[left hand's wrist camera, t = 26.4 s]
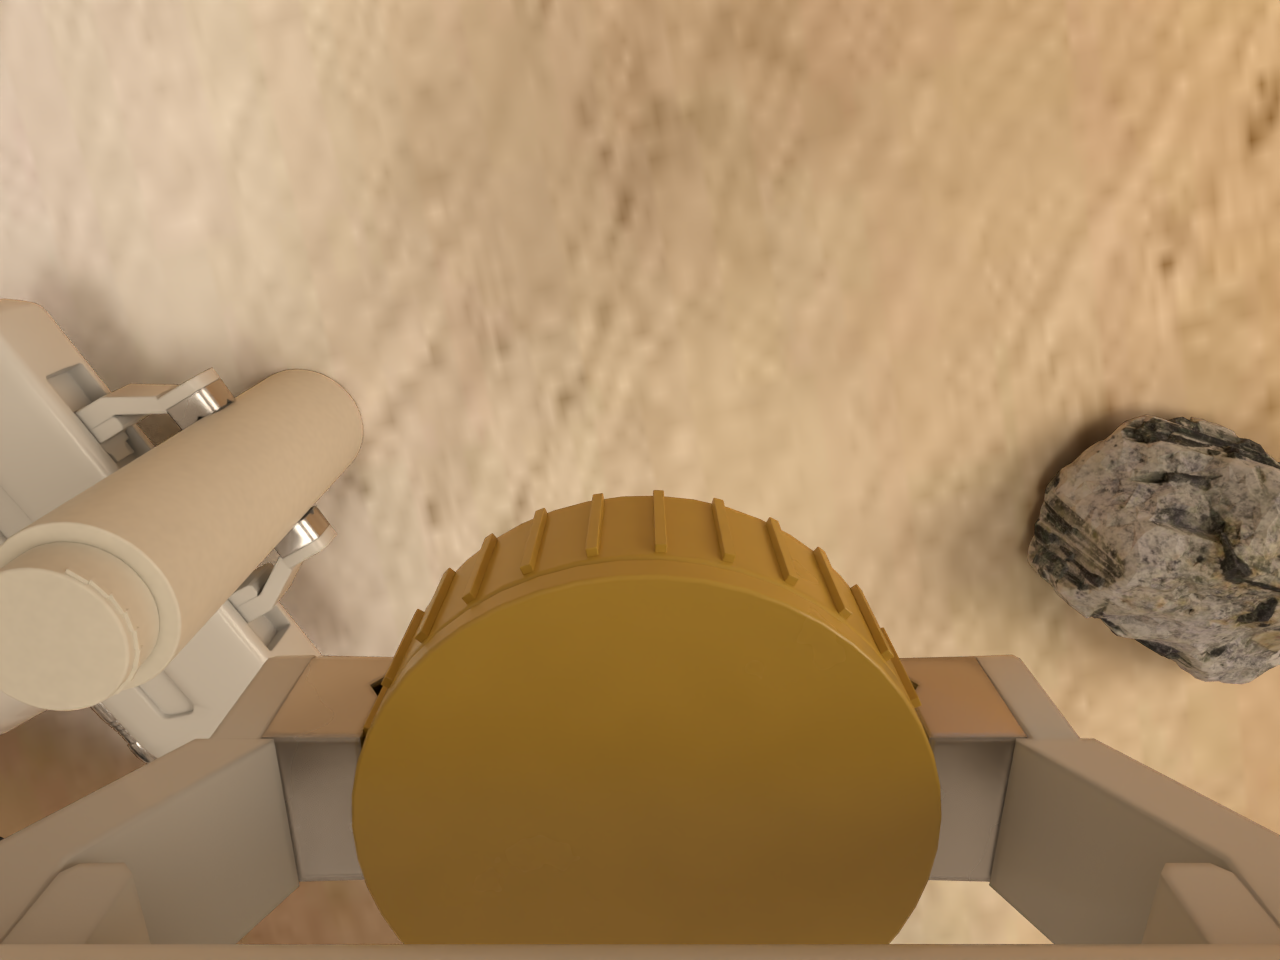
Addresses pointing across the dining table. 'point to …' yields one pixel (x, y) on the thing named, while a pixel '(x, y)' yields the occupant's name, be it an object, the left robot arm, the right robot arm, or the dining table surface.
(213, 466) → the jar
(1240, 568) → the rock
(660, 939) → the lid
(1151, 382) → the dining table surface
